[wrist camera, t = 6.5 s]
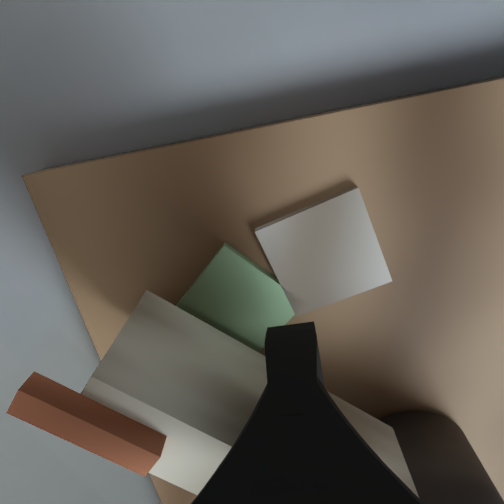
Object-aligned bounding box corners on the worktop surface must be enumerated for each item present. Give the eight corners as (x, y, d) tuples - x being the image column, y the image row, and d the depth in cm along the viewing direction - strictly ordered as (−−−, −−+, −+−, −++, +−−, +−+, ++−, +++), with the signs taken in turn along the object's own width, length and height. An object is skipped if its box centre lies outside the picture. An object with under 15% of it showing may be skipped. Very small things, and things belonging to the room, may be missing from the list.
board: (800, 16, 9) (882, 2, 8) (638, 534, 16) (667, 568, 15) (42, 169, 11) (15, 177, 10) (201, 564, 18) (197, 596, 17)
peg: (491, 443, 13) (599, 610, 9) (413, 503, 14) (473, 673, 10) (138, 235, 11) (50, 328, 6) (83, 332, 12) (-19, 461, 8)
